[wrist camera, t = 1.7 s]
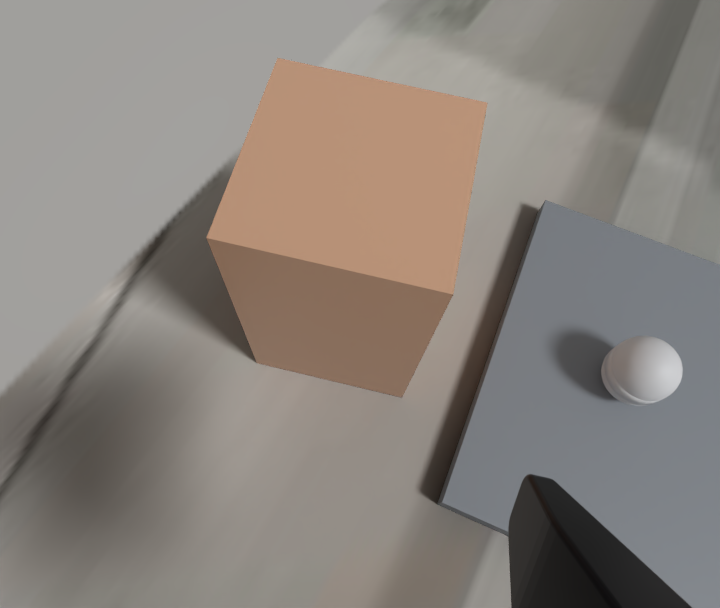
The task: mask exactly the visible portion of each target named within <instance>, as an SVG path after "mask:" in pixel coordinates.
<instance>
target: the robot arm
mask: <svg viewBox="0 0 720 608" xmlns="http://www.w3.org/2000/svg"><path fill="white" fill-rule="evenodd" d="M508 537H509V559H510V582H511V605H512V608H692V607H691V606H690V605H689V604H688V603H687V602H686V601H685V600H684V599H683V598H682V597H681V596H679V595H678V594H677V593H676V592H675V591H674V590H673V589H672V588H671V587H670V586H669V585H667V584H666V583H665V582H664V581H663V580H662V579H661V578H660V577H659V576H658V575H657V574H656V573H654V572H653V571H652V570H651V569H650V568H649V567H648V566H647V565H646V564H645V563H644V562H642V561H641V560H640V559H639V558H638V557H637V556H636V555H635V554H634V553H633V552H632V551H631V550H629V549H628V548H627V547H626V546H625V545H624V544H623V543H622V542H621V541H620V540H619V539H617V538H616V537H615V536H614V535H613V534H612V533H611V532H610V531H609V530H608V529H607V528H606V527H604V526H603V525H602V524H601V523H600V522H599V521H598V520H597V519H596V518H595V517H594V516H592V515H591V514H590V513H589V512H588V511H587V510H586V509H585V508H584V507H583V506H582V505H581V504H579V503H578V502H577V501H576V500H575V499H574V498H573V497H572V496H571V495H570V494H569V493H567V492H566V491H565V490H564V489H563V488H562V487H561V486H560V485H559V484H558V483H557V482H556V481H554V480H553V479H550V478H547V477H542V476H538V475H533V474H528V475H526V476H525V477H524V479H523V481H522V483H521V486H520V489H519V492H518V495H517V497H516V500H515V503H514V506H513V509H512V512H511V515H510V519H509V526H508Z"/></svg>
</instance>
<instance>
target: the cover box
mask: <svg viewBox="0 0 720 608" xmlns="http://www.w3.org/2000/svg"><path fill="white" fill-rule="evenodd" d="M486 108H487V103H486V102H482V101H477V100H472V99H468V98H463V97H458V96H453V95H449V94H444V93H439V92H435V91H430V90H425V89H421V88H416V87H411V86H407V85H402V84H397V83H393V82H388V81H383V80H378V79H374V78H369V77H364V76H360V75H355V74H350V73H346V72H341V71H336V70H332V69H327V68H322V67H317V66H312V65H308V64H303V63H299V62H294V61H289V60H285V59H280V58H278V59H277V61H276V63H275V66H274V69H273V71H272V74H271V76H270V79H269V81H268V84H267V86H266V89H265V92H264V94H263V96H262V99H261V101H260V104H259V106H258V109H257V112H256V114H255V117H254V119H253V122H252V124H251V127H250V129H249V132H248V134H247V137H246V139H245V142H244V144H243V147H242V149H241V152H240V154H239V157H238V159H237V162H236V164H235V167H234V169H233V172H232V174H231V177H230V180H229V182H228V185H227V187H226V190H225V192H224V195H223V197H222V200H221V202H220V205H219V207H218V210H217V212H216V215H215V217H214V220H213V222H212V225H211V227H210V230H209V233H208V235H207V241H208V243H209V246H210V248H211V251H212V253H213V256H214V258H215V260H216V263H217V265H218V268H219V270H220V273H221V275H222V278H223V280H224V283H225V285H226V288H227V290H228V293H229V295H230V298H231V300H232V303H233V305H234V308H235V310H236V312H237V315H238V317H239V320H240V322H241V325H242V327H243V330H244V332H245V335H246V337H247V340H248V342H249V345H250V347H251V350H252V352H253V355H254V357H255V360H256V362H257V363H259V364H264V365H268V366H272V367H276V368H280V369H284V370H289V371H293V372H297V373H301V374H305V375H310V376H314V377H318V378H322V379H326V380H331V381H335V382H339V383H343V384H347V385H351V386H356V387H360V388H364V389H368V390H372V391H377V392H381V393H385V394H389V395H393V396H398V397H403V395H404V393H405V391H406V389H407V386H408V384H409V382H410V380H411V378H412V376H413V374H414V372H415V370H416V368H417V366H418V364H419V362H420V360H421V358H422V356H423V354H424V352H425V350H426V348H427V346H428V344H429V342H430V340H431V338H432V336H433V334H434V332H435V330H436V328H437V326H438V324H439V322H440V320H441V318H442V316H443V314H444V312H445V310H446V308H447V306H448V304H449V302H450V300H451V298H452V296H453V293H454V287H455V281H456V276H457V270H458V265H459V259H460V253H461V248H462V242H463V237H464V231H465V225H466V220H467V214H468V209H469V203H470V197H471V192H472V186H473V181H474V175H475V169H476V164H477V158H478V153H479V147H480V142H481V136H482V130H483V125H484V119H485V114H486Z"/></svg>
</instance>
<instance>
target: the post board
mask: <svg viewBox="0 0 720 608" xmlns="http://www.w3.org/2000/svg"><path fill="white" fill-rule="evenodd" d="M528 474H533V475H538V476H542V477H547V478H550V479H553V480H554V481H556V482H557V483H558V484H559V485H560V486H561V487H562V488H563V489H564V490H565V491H566V492H567V493H569V494H570V495H571V496H572V497H573V498H574V499H575V500H576V501H577V502H578V503H579V504H581V505H582V506H583V507H584V508H585V509H586V510H587V511H588V512H589V513H590V514H591V515H592V516H594V517H595V518H596V519H597V520H598V521H599V522H600V523H601V524H602V525H603V526H604V527H606V528H607V529H608V530H609V531H610V532H611V533H612V534H613V535H614V536H615V537H616V538H617V539H619V540H620V541H621V542H622V543H623V544H624V545H625V546H626V547H627V548H628V549H629V550H631V551H632V552H633V553H634V554H635V555H636V556H637V557H638V558H639V559H640V560H641V561H642V562H644V563H645V564H646V565H647V566H648V567H649V568H650V569H651V570H652V571H653V572H654V573H656V574H657V575H658V576H659V577H660V578H661V579H662V580H663V581H664V582H665V583H666V584H667V585H669V586H670V587H671V588H672V589H673V590H674V591H675V592H676V593H677V594H678V595H679V596H681V597H682V598H683V599H684V600H685V601H686V602H687V603H688V604H689V605H690V606H691V607H692V608H720V265H719V264H716V263H713V262H711V261H708V260H705V259H703V258H700V257H697V256H695V255H692V254H689V253H686V252H684V251H681V250H678V249H676V248H673V247H670V246H668V245H665V244H662V243H660V242H657V241H654V240H652V239H649V238H646V237H643V236H641V235H638V234H635V233H633V232H630V231H627V230H625V229H622V228H619V227H617V226H614V225H611V224H608V223H606V222H603V221H600V220H598V219H595V218H592V217H590V216H587V215H584V214H582V213H579V212H576V211H574V210H571V209H568V208H565V207H563V206H560V205H557V204H555V203H552V202H549V201H547V200H545V202H544V204H543V205H542V207H541V208H540V210H539V211H538V214H537V217H536V219H535V222H534V225H533V228H532V231H531V234H530V237H529V240H528V243H527V246H526V248H525V251H524V254H523V257H522V260H521V263H520V266H519V269H518V272H517V275H516V277H515V280H514V283H513V286H512V289H511V292H510V295H509V298H508V301H507V303H506V306H505V309H504V312H503V315H502V318H501V321H500V324H499V327H498V330H497V332H496V335H495V338H494V341H493V344H492V347H491V350H490V353H489V356H488V358H487V361H486V364H485V367H484V370H483V373H482V376H481V379H480V382H479V385H478V387H477V390H476V393H475V396H474V399H473V402H472V405H471V408H470V411H469V413H468V416H467V419H466V422H465V425H464V428H463V431H462V434H461V437H460V440H459V442H458V445H457V448H456V451H455V454H454V457H453V460H452V463H451V466H450V469H449V471H448V474H447V477H446V480H445V483H444V486H443V489H442V492H441V495H440V497H439V500H438V503H437V504H438V505H440V506H442V507H444V508H447V509H449V510H451V511H453V512H455V513H458V514H460V515H462V516H464V517H467V518H469V519H471V520H473V521H476V522H478V523H480V524H482V525H485V526H487V527H489V528H491V529H494V530H496V531H498V532H500V533H503V534H505V535H507V536H508V526H509V519H510V515H511V512H512V509H513V506H514V503H515V500H516V497H517V495H518V492H519V489H520V486H521V483H522V481H523V479H524V477H525V476H526V475H528Z"/></svg>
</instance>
